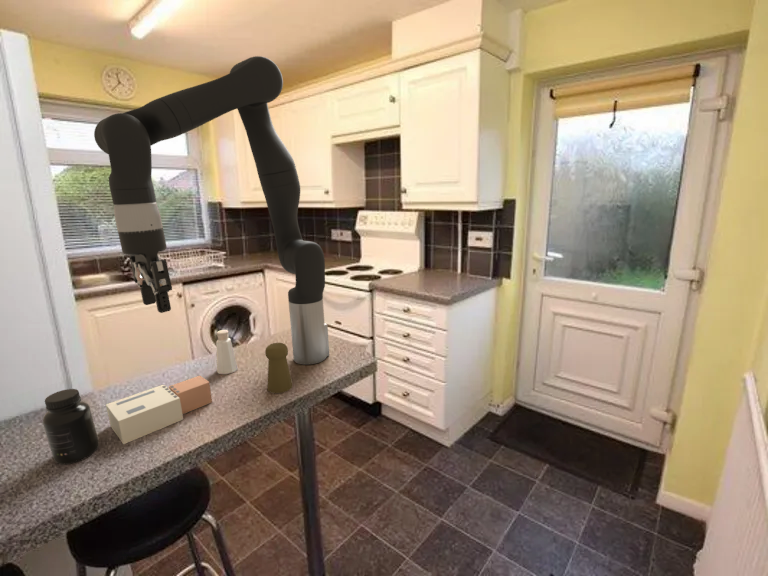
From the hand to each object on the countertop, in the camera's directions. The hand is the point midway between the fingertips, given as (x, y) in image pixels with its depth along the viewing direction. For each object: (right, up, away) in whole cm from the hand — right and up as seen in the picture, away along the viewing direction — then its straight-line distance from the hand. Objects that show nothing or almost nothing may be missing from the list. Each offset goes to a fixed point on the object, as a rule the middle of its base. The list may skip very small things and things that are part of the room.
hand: (157, 307), depth 80 cm
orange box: (+3, -22, +8) cm, 24 cm away
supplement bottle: (-11, -27, -7) cm, 30 cm away
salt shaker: (+4, -18, +25) cm, 32 cm away
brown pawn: (+21, -20, +16) cm, 33 cm away
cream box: (-3, -24, +2) cm, 24 cm away
